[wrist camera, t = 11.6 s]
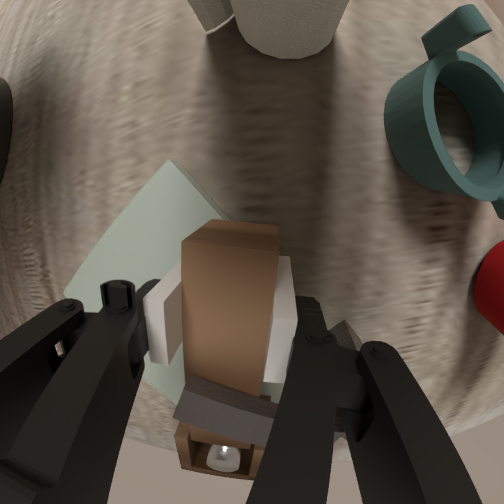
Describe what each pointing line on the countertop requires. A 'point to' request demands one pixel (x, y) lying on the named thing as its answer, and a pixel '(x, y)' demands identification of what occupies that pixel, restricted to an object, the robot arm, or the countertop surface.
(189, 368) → the link
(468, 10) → the teal hollow cylinder
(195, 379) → the keeper
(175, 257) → the base board
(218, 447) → the cylinder
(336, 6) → the paper towel roll
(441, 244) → the countertop surface
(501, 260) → the beverage can
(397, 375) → the robot arm
